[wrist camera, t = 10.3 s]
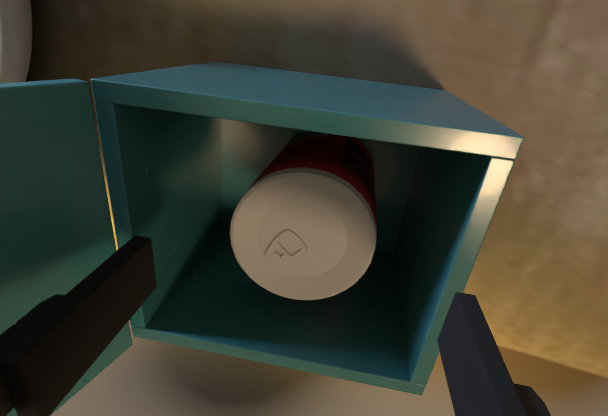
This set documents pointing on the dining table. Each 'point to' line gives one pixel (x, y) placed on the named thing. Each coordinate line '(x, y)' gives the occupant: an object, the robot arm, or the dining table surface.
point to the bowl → (15, 40)
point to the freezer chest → (248, 167)
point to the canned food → (309, 218)
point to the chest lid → (51, 202)
